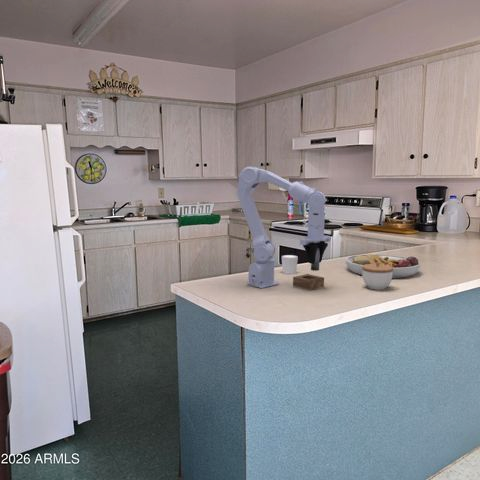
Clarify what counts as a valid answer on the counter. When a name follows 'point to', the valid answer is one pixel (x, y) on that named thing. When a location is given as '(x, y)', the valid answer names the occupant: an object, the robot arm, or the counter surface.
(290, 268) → the shot glass
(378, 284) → the lidded jar
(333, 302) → the counter surface
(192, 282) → the counter surface
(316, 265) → the pin
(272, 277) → the robot arm
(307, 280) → the socket block
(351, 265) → the bowl
